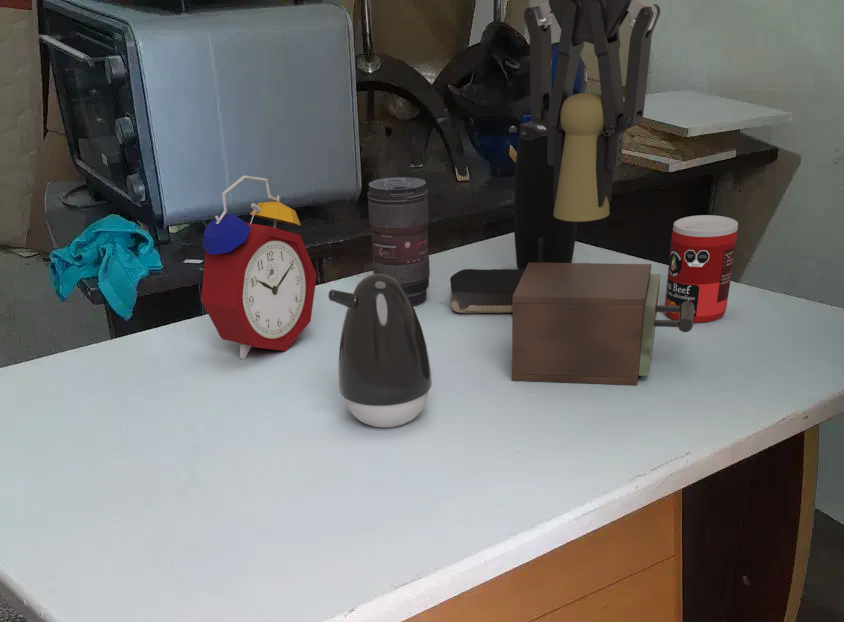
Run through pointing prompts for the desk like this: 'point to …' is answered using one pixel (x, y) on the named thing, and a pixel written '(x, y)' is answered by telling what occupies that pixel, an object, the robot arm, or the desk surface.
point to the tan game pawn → (580, 159)
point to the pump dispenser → (382, 353)
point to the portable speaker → (538, 204)
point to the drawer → (659, 321)
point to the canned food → (701, 265)
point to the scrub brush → (484, 290)
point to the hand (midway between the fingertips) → (582, 201)
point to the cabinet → (579, 322)
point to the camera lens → (401, 233)
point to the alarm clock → (257, 277)
